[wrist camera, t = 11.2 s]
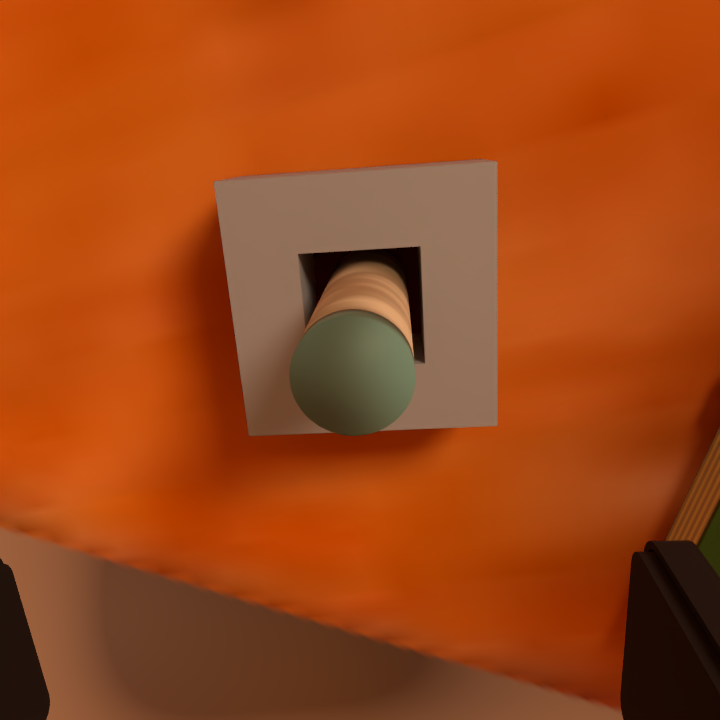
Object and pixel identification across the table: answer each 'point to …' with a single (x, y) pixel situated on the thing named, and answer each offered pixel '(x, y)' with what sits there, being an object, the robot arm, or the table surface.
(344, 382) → the long dowel
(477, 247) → the socket block
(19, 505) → the table surface
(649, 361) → the table surface
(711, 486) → the hardcover book
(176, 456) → the table surface
